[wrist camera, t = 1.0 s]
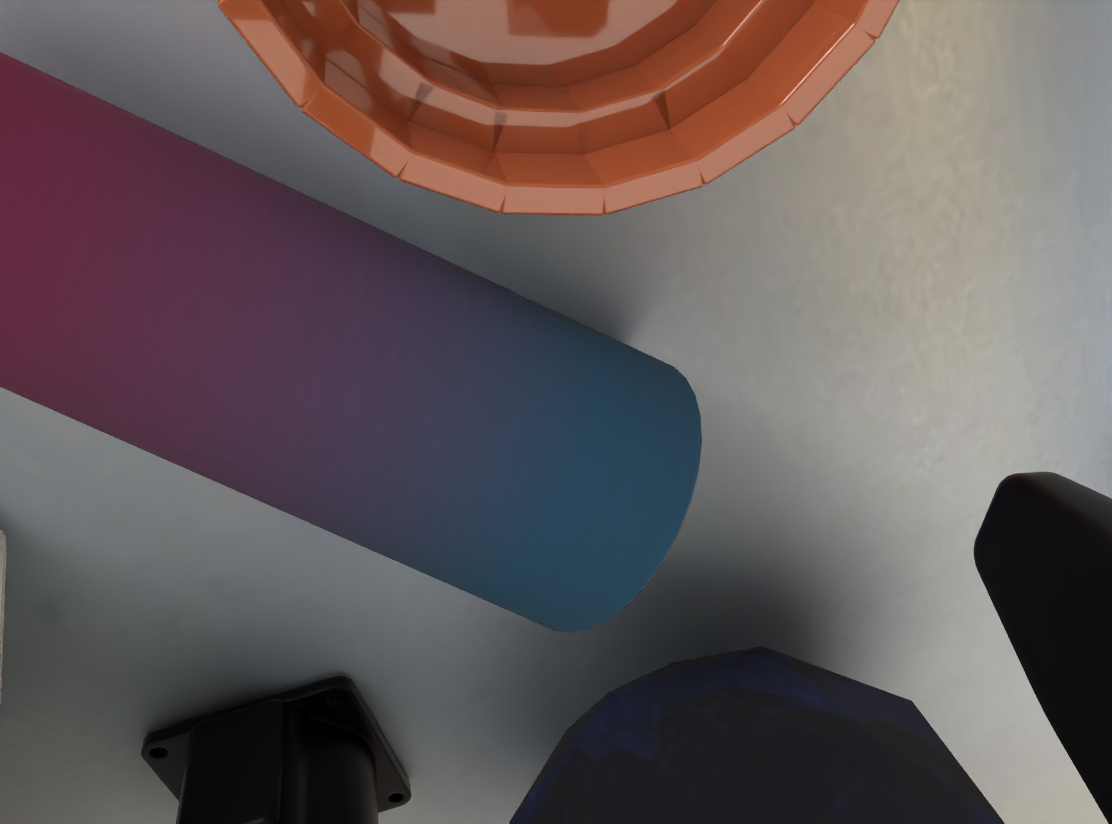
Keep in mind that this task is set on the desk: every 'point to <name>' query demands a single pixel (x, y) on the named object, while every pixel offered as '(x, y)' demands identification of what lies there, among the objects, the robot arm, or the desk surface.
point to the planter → (2, 594)
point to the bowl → (558, 88)
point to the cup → (330, 364)
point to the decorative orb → (752, 753)
